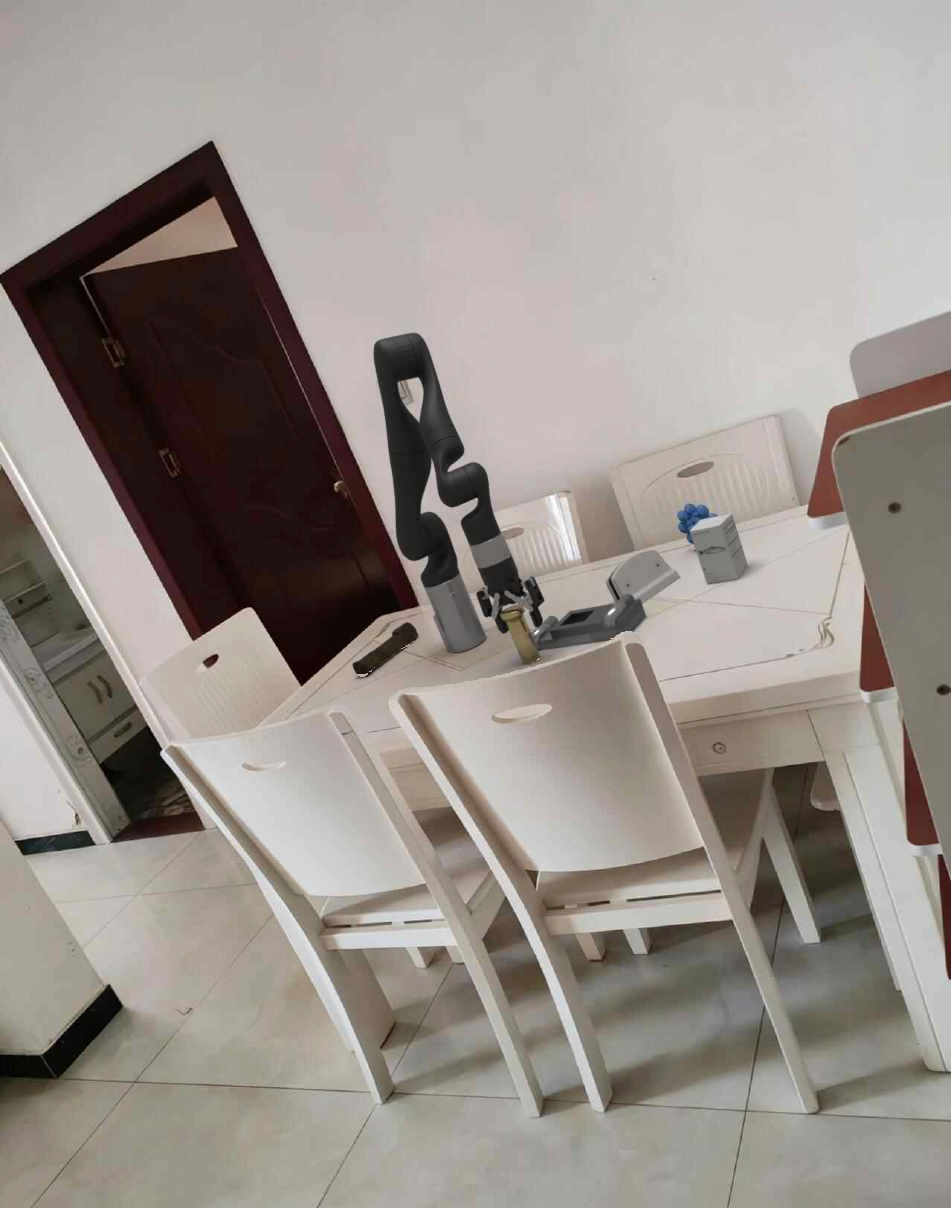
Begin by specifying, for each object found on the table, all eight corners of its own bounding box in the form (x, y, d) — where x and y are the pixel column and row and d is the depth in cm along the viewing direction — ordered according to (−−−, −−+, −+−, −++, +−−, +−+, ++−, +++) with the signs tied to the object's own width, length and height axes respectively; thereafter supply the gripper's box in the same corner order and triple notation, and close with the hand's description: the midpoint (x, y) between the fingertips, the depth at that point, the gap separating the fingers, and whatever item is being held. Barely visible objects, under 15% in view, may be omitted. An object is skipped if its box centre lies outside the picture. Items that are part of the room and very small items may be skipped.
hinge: (633, 609, 205) (608, 570, 206) (621, 616, 209) (597, 578, 210) (681, 576, 214) (657, 539, 214) (669, 583, 218) (645, 547, 218)
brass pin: (515, 667, 200) (495, 616, 197) (527, 656, 204) (507, 606, 201) (536, 664, 196) (515, 613, 193) (547, 653, 200) (527, 602, 197)
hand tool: (368, 678, 234) (360, 658, 232) (356, 679, 237) (348, 659, 236) (427, 636, 249) (419, 617, 248) (415, 638, 252) (407, 619, 251)
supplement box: (706, 585, 202) (687, 531, 199) (718, 571, 208) (700, 518, 205) (738, 580, 198) (720, 524, 194) (749, 566, 203) (732, 511, 200)
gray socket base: (522, 653, 206) (513, 631, 205) (545, 631, 215) (536, 609, 213) (626, 638, 191) (618, 613, 189) (647, 614, 199) (638, 591, 198)
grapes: (678, 559, 227) (662, 513, 224) (692, 548, 231) (676, 502, 228) (721, 553, 219) (705, 505, 216) (734, 542, 223) (718, 495, 220)
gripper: (457, 572, 196) (486, 642, 199) (512, 558, 187) (542, 631, 191) (475, 559, 201) (503, 626, 205) (530, 545, 193) (558, 616, 197)
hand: (522, 629), depth 198 cm, fingers open, 8 cm apart
